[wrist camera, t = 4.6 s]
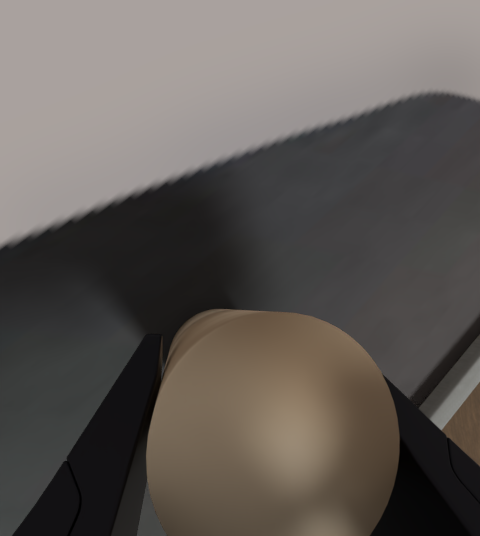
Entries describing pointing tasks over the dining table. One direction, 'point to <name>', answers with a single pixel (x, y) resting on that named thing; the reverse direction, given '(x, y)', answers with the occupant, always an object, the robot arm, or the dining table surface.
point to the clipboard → (459, 402)
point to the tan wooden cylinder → (270, 430)
